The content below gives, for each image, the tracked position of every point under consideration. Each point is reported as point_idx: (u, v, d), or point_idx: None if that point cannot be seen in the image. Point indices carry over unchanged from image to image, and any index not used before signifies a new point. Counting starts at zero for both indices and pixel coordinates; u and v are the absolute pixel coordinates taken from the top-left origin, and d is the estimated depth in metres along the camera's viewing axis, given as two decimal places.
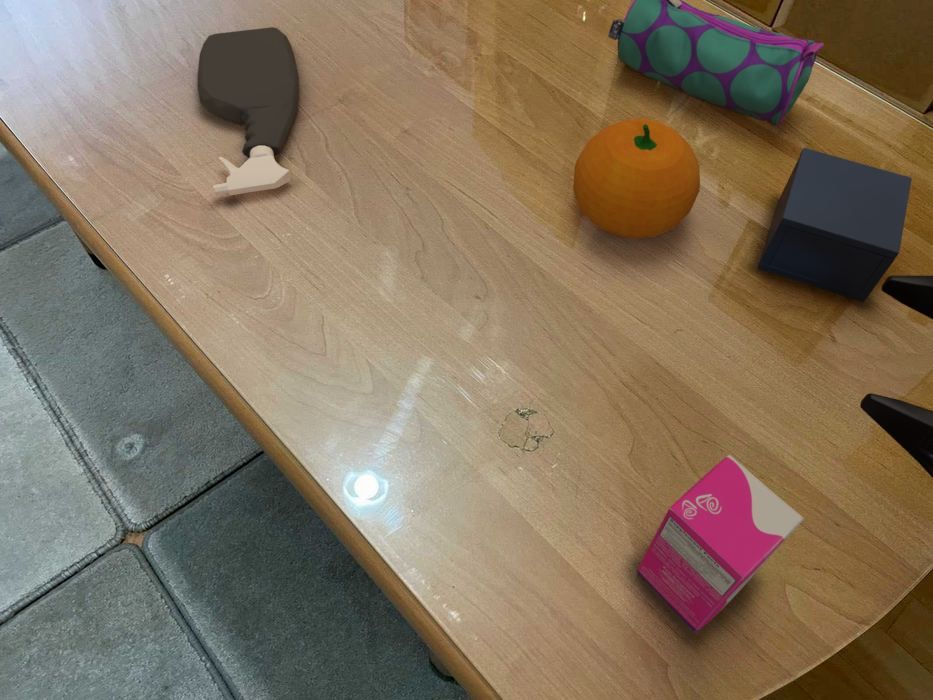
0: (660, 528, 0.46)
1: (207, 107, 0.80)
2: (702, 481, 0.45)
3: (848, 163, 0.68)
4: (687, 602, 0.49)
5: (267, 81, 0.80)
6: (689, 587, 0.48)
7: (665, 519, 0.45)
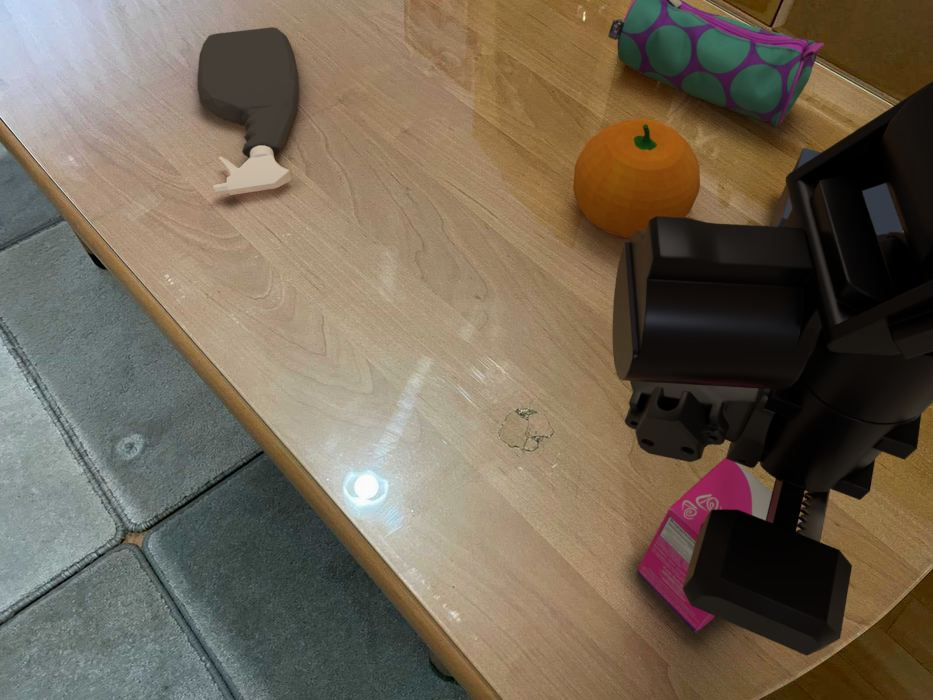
0: (660, 528, 0.46)
1: (207, 107, 0.80)
2: (702, 481, 0.45)
3: None
4: (687, 602, 0.49)
5: (267, 81, 0.80)
6: None
7: (665, 519, 0.45)
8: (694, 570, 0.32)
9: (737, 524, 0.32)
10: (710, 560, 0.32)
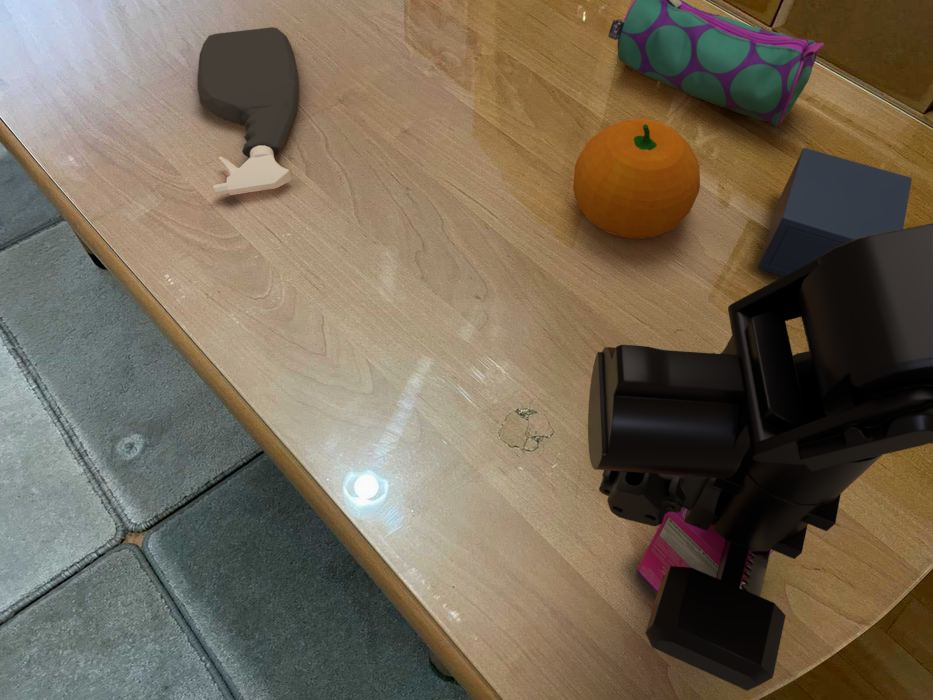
0: (659, 528, 0.47)
1: (207, 107, 0.80)
2: None
3: (848, 163, 0.68)
4: None
5: (267, 81, 0.80)
6: None
7: (664, 519, 0.45)
8: (654, 619, 0.39)
9: (691, 580, 0.39)
10: (667, 611, 0.38)
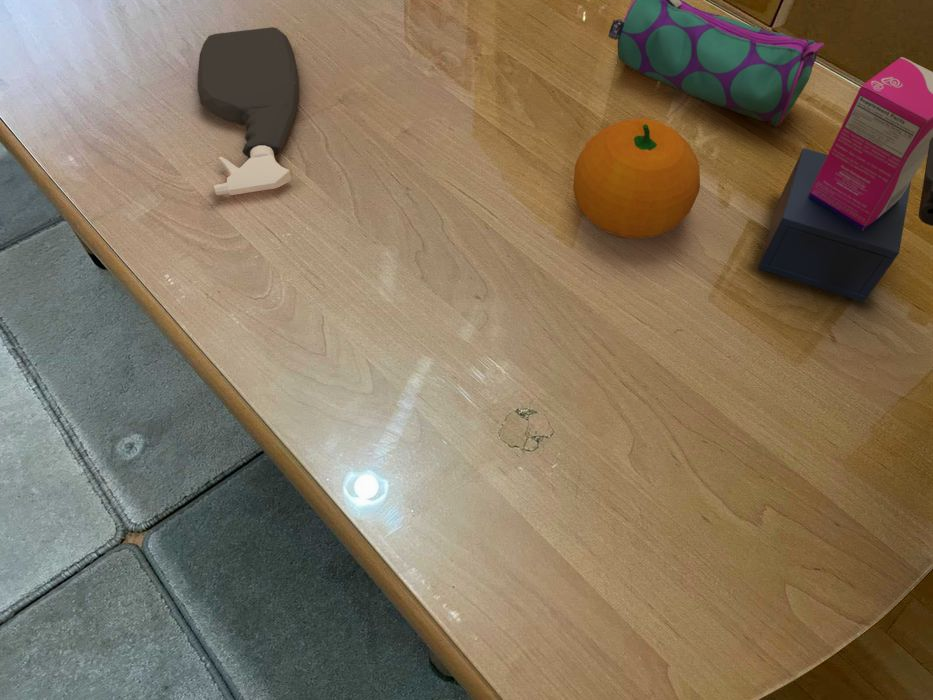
0: (846, 118, 0.59)
1: (207, 107, 0.80)
2: (883, 71, 0.57)
3: None
4: (860, 195, 0.61)
5: (267, 81, 0.80)
6: (866, 173, 0.60)
7: (854, 102, 0.57)
8: None
9: None
10: None
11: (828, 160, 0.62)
